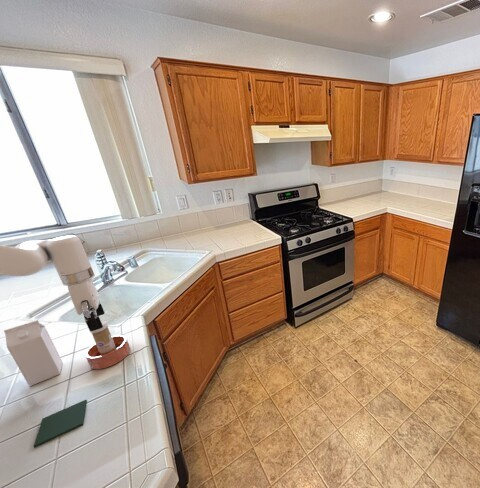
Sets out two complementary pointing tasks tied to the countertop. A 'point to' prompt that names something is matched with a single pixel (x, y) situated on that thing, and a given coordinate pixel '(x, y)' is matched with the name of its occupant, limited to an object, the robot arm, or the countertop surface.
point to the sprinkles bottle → (103, 339)
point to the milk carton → (33, 352)
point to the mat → (61, 423)
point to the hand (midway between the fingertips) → (97, 322)
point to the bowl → (111, 358)
